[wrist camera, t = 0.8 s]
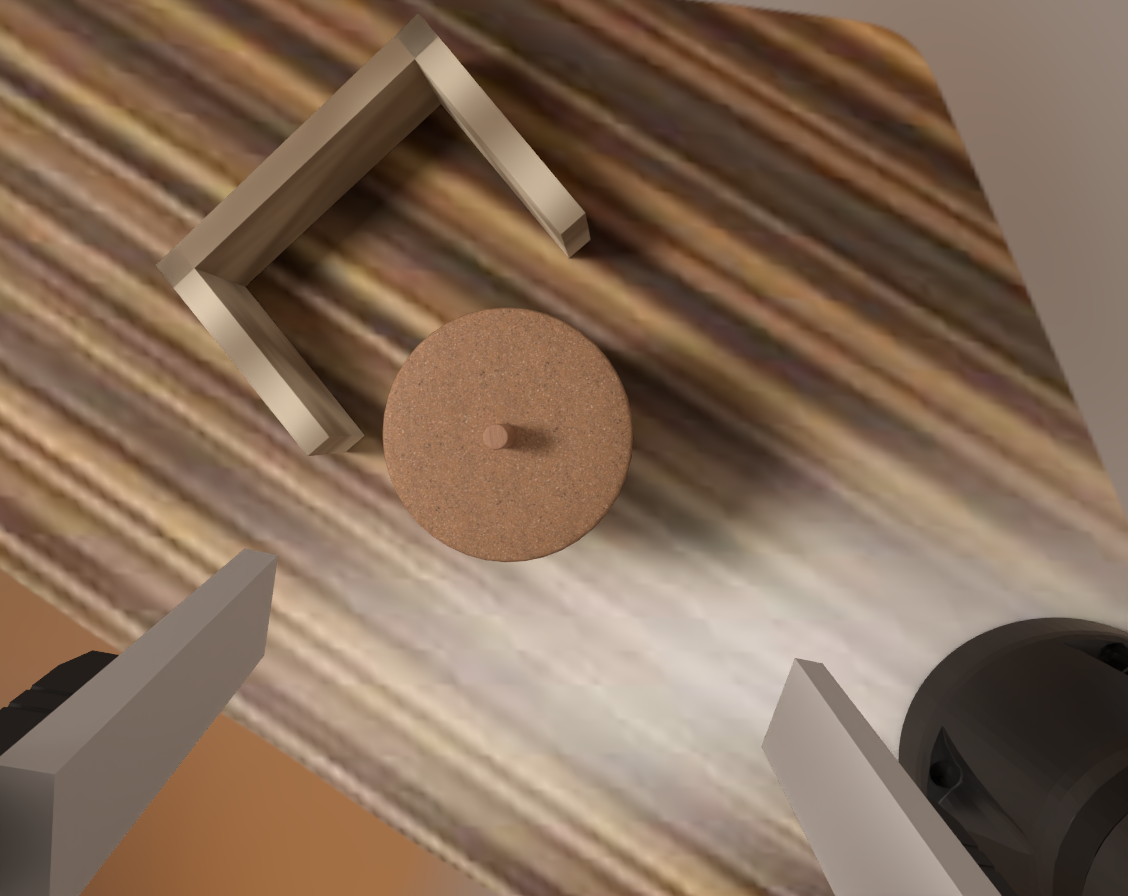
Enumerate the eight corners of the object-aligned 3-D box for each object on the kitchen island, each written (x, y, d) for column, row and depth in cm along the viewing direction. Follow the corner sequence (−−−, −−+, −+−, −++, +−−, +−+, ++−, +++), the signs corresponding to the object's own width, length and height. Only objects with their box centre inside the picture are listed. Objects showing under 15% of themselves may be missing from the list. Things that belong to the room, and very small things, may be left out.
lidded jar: (615, 319, 32) (611, 275, 22) (645, 516, 32) (652, 554, 23) (424, 352, 33) (344, 323, 23) (454, 542, 33) (386, 588, 24)
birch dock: (590, 239, 32) (585, 212, 28) (345, 452, 33) (307, 456, 29) (444, 64, 32) (418, 12, 28) (210, 283, 34) (155, 265, 30)
